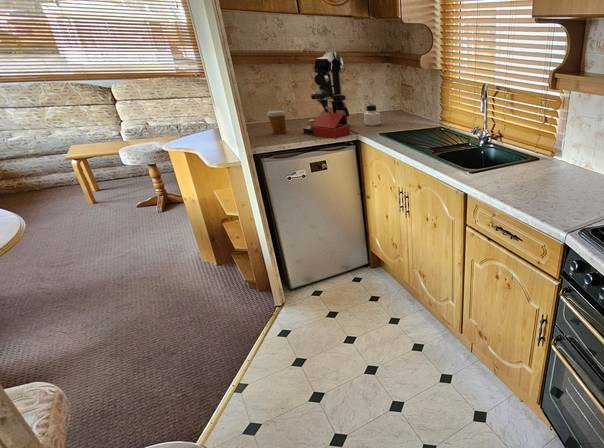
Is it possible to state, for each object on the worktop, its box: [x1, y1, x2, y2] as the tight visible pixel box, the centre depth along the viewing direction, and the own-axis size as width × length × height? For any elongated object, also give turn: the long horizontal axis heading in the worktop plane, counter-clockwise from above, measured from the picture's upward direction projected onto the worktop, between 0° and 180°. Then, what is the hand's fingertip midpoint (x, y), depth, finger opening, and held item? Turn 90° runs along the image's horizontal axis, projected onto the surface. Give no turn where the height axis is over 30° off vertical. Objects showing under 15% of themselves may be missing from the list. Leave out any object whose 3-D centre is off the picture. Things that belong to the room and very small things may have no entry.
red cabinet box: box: [313, 124, 351, 139], centre depth 227 cm, size 13×15×5 cm
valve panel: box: [302, 125, 314, 136], centre depth 232 cm, size 10×9×3 cm
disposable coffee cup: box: [266, 109, 287, 135], centre depth 228 cm, size 10×10×12 cm
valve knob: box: [308, 118, 317, 128], centre depth 231 cm, size 4×4×4 cm
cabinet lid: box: [313, 105, 346, 129], centre depth 222 cm, size 13×15×5 cm
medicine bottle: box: [363, 104, 382, 127], centre depth 253 cm, size 7×7×12 cm
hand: (330, 112), depth 224 cm, fingers closed on cabinet lid, 5 cm apart
